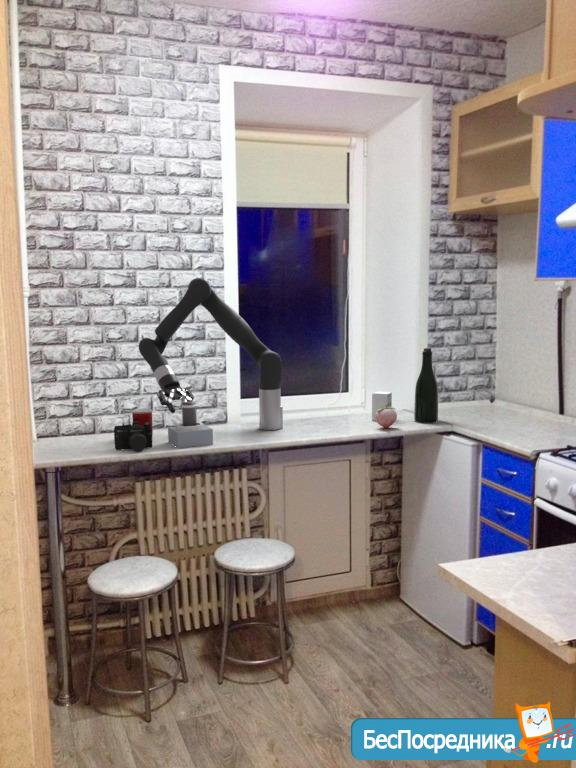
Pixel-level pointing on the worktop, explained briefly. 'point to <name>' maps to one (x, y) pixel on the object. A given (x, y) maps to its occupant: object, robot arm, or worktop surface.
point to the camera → (133, 436)
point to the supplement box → (380, 402)
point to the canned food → (142, 416)
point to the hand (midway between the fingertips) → (183, 410)
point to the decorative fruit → (386, 416)
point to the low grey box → (190, 435)
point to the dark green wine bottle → (426, 391)
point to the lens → (189, 413)
